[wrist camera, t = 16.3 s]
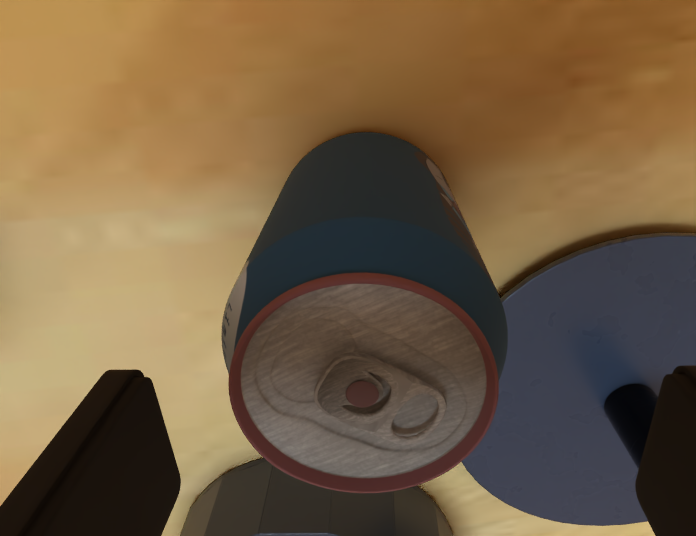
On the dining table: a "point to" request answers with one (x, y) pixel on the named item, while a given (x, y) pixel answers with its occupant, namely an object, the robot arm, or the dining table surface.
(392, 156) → the soda can
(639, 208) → the dining table surface
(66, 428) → the robot arm
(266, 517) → the pot
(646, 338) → the lid
